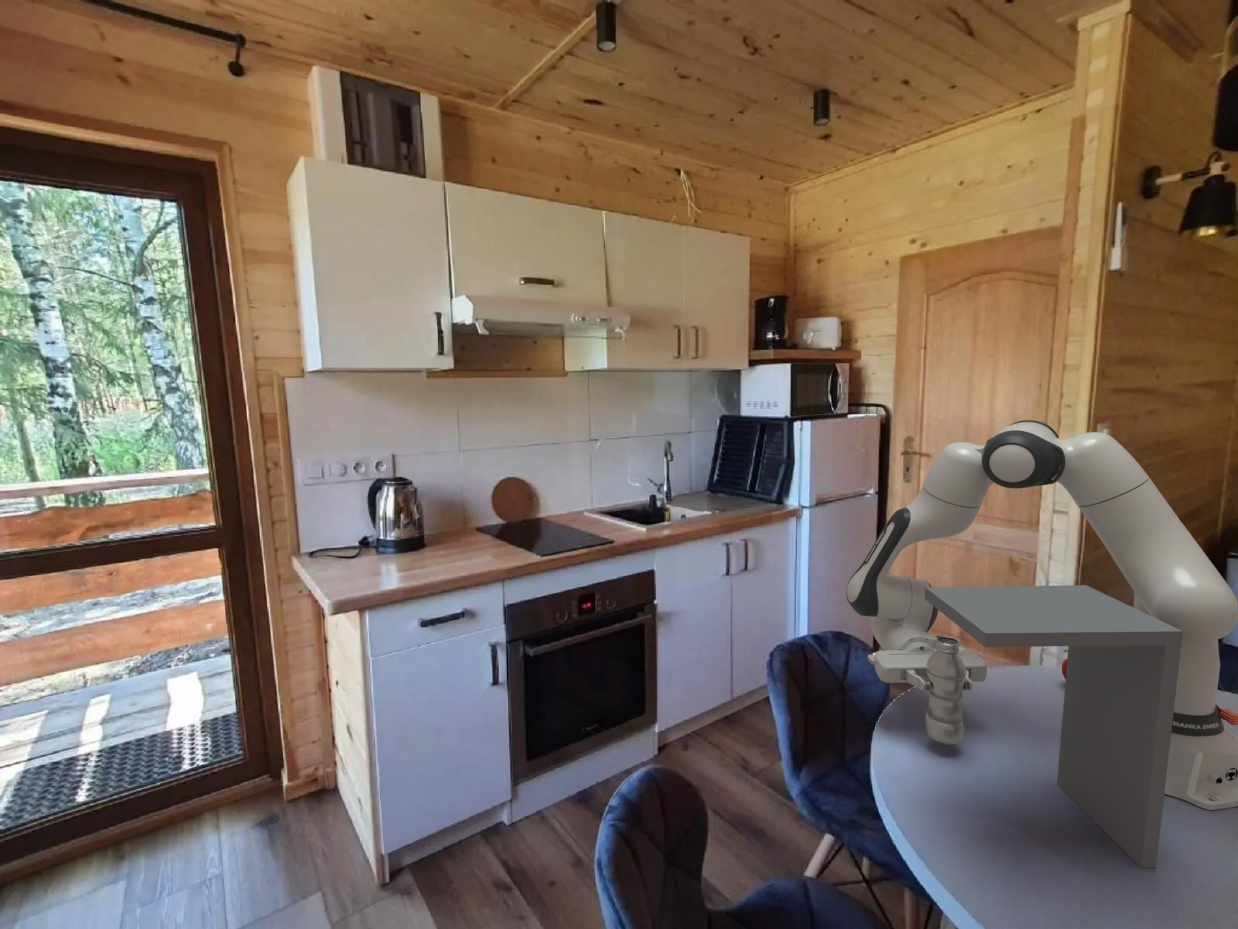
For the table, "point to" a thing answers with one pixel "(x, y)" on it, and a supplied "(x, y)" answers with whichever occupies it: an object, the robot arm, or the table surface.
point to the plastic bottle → (945, 693)
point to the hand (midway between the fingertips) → (947, 687)
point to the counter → (1093, 694)
